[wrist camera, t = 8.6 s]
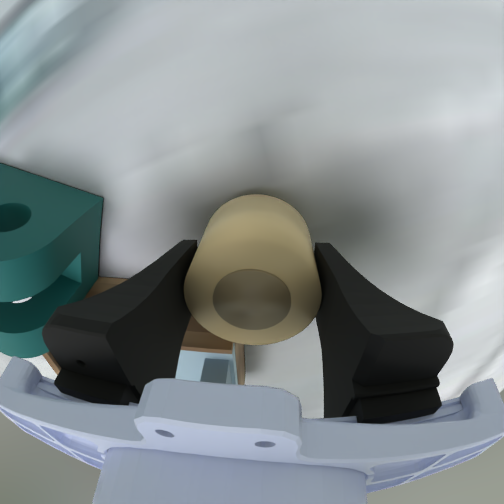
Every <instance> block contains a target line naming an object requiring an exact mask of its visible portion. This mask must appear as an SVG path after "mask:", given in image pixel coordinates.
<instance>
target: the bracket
mask: <svg viewBox="0 0 504 504" xmlns="http://www.w3.org/2000/svg"><path fill="white" fill-rule="evenodd" d="M102 205H103V198H102V197H99V196H96V195H93V194H90V193H87V192H84V191H81V190H79V189H76V188H73V187H70V186H67V185H64V184H61V183H58V182H55V181H52V180H49V179H46V178H43V177H40V176H37V175H34V174H31V173H28V172H25V171H22V170H19V169H16V168H14V167H11V166H8V165H5V164H2V163H0V352H2V353H3V354H6V355H8V356H11V357H13V356H16V357H19V358H32V357H37V356H40V355H43V354H45V353H47V352H49V350H48V348H47V346H46V344H45V343H44V340H43V336H42V329H43V327H44V326H45V324H46V323H47V321H48V320H49V318H50V317H51V316H52V314H53V313H54V311H55V310H56V308H57V307H58V306H62V305H66V304H70V303H73V302H77V301H80V300H83V299H84V298H85V296H86V295H87V293H88V292H89V290H90V289H91V288H92V286H93V285H94V283H95V282H96V281H97V279H98V263H99V241H100V227H101V215H102ZM28 297H32V298H31V299H29V300H28V301H25V302H22V303H12V302H13V301H18V300H22V299H25V298H28Z"/></svg>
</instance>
